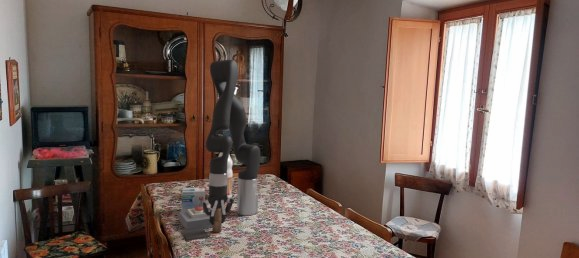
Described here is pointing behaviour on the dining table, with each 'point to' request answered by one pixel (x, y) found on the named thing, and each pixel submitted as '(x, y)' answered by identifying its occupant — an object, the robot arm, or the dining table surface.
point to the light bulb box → (192, 198)
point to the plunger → (198, 209)
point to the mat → (195, 234)
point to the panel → (194, 219)
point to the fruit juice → (229, 175)
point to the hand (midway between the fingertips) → (217, 223)
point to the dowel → (217, 220)
